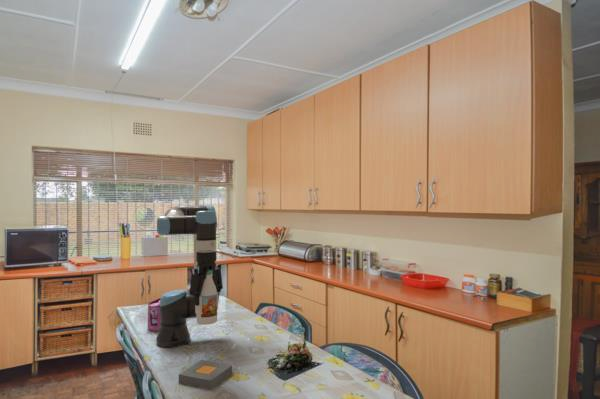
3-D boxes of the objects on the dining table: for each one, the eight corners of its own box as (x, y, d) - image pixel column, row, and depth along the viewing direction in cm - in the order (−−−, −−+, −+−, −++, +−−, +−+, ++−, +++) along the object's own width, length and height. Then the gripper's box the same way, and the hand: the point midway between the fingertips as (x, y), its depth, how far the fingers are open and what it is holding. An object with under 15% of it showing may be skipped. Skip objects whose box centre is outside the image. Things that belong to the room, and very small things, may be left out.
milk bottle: (193, 325, 149) (193, 271, 149) (200, 319, 157) (200, 267, 157) (213, 325, 148) (213, 271, 148) (219, 319, 156) (219, 268, 156)
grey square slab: (178, 382, 145) (178, 374, 145) (201, 367, 158) (201, 359, 158) (211, 389, 140) (211, 380, 140) (232, 372, 153) (232, 364, 153)
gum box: (159, 331, 201) (159, 304, 201) (145, 331, 202) (145, 304, 202) (182, 317, 224) (182, 293, 224) (169, 317, 226) (169, 293, 226)
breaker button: (194, 378, 147) (194, 371, 147) (204, 371, 153) (204, 365, 153) (208, 381, 145) (208, 374, 145) (217, 374, 151) (217, 367, 151)
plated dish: (296, 342, 187) (296, 327, 186) (345, 360, 168) (345, 342, 167) (236, 367, 161) (236, 349, 161) (286, 390, 142) (286, 370, 142)
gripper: (192, 254, 142) (193, 319, 142) (232, 249, 159) (232, 306, 159) (178, 253, 146) (178, 316, 146) (218, 248, 163) (218, 304, 163)
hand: (206, 311), depth 152 cm, fingers closed on milk bottle, 8 cm apart
